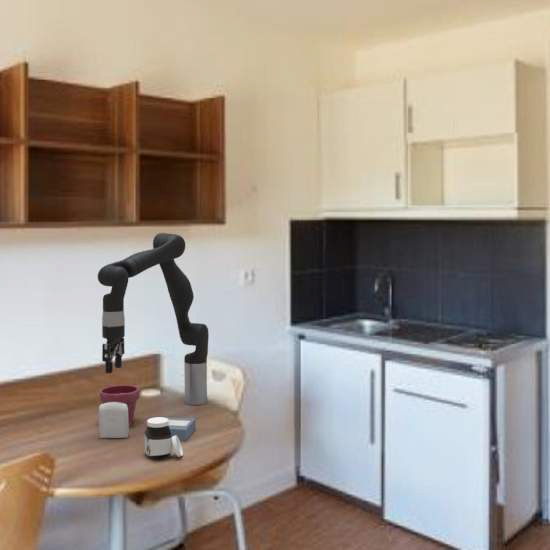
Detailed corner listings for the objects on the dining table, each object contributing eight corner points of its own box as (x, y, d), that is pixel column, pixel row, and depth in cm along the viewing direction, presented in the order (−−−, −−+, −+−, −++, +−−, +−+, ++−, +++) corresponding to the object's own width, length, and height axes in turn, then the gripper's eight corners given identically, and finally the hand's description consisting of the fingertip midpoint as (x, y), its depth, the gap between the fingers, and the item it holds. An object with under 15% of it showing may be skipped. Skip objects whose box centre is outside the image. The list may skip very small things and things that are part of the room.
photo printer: (97, 439, 229) (97, 404, 228) (101, 435, 234) (100, 400, 233) (127, 439, 229) (126, 404, 228) (130, 435, 234) (129, 400, 233)
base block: (158, 427, 242) (158, 416, 242) (195, 429, 240) (195, 418, 240) (146, 439, 229) (146, 427, 229) (185, 441, 227) (185, 429, 227)
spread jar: (141, 452, 216) (141, 417, 215) (174, 447, 221) (174, 413, 221) (154, 464, 206) (153, 428, 205) (188, 458, 211) (187, 422, 210)
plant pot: (92, 425, 245) (91, 391, 244) (117, 415, 257) (117, 382, 256) (122, 430, 238) (122, 395, 237) (147, 420, 251) (146, 387, 250)
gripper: (110, 320, 236) (111, 365, 237) (94, 326, 222) (95, 374, 223) (131, 321, 235) (131, 366, 236) (116, 327, 221) (116, 375, 222)
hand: (113, 370), depth 230 cm, fingers open, 8 cm apart
